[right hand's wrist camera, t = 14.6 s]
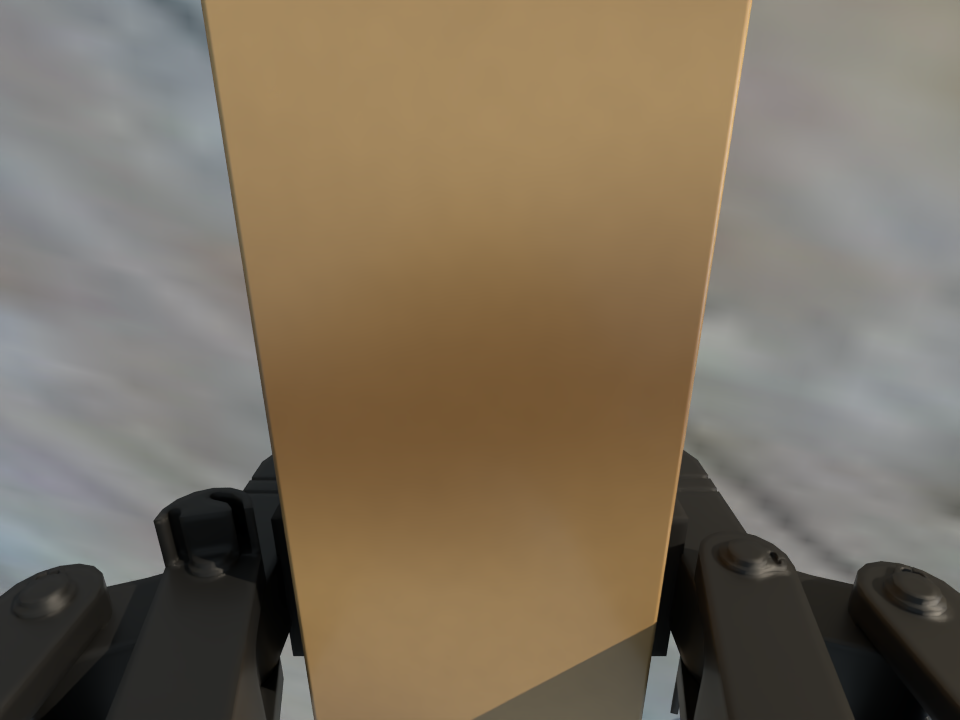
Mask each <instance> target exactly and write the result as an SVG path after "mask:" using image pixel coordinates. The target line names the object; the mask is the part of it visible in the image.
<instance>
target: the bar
mask: <svg viewBox="0 0 960 720" xmlns="http://www.w3.org/2000/svg"><path fill="white" fill-rule="evenodd" d="M201 5H202V11H203V17H204V24H205V30H206V36H207V43H208V49H209V55H210V62H211V68H212V74H213V81H214V87H215V93H216V100H217V106H218V112H219V119H220V125H221V131H222V138H223V144H224V150H225V157H226V163H227V169H228V176H229V182H230V188H231V195H232V201H233V208H234V214H235V220H236V227H237V233H238V239H239V246H240V252H241V258H242V265H243V271H244V277H245V284H246V290H247V296H248V303H249V309H250V315H251V322H252V328H253V334H254V341H255V347H256V353H257V360H258V366H259V372H260V379H261V385H262V391H263V398H264V404H265V410H266V417H267V423H268V429H269V436H270V442H271V449H272V455H273V461H274V468H275V474H276V480H277V487H278V493H279V499H280V506H281V512H282V518H283V525H284V531H285V537H286V544H287V550H288V556H289V563H290V569H291V575H292V582H293V588H294V594H295V601H296V607H297V613H298V620H299V626H300V632H301V639H302V645H303V651H304V658H305V664H306V670H307V677H308V683H309V690H310V696H311V702H312V709H313V715H314V720H642V714H643V707H644V701H645V694H646V688H647V681H648V675H649V668H650V662H651V655H652V649H653V642H654V636H655V629H656V623H657V616H658V610H659V603H660V597H661V590H662V584H663V577H664V571H665V564H666V558H667V551H668V545H669V538H670V532H671V525H672V519H673V512H674V506H675V499H676V493H677V486H678V480H679V473H680V467H681V460H682V454H683V447H684V441H685V434H686V428H687V421H688V415H689V408H690V402H691V395H692V389H693V382H694V376H695V369H696V363H697V356H698V350H699V343H700V336H701V330H702V323H703V317H704V310H705V304H706V297H707V291H708V284H709V278H710V271H711V265H712V258H713V252H714V245H715V239H716V232H717V226H718V219H719V213H720V206H721V200H722V193H723V187H724V180H725V174H726V167H727V161H728V154H729V148H730V141H731V135H732V128H733V122H734V115H735V109H736V102H737V96H738V89H739V83H740V76H741V70H742V63H743V57H744V50H745V44H746V37H747V31H748V24H749V18H750V11H751V5H752V0H201Z"/></svg>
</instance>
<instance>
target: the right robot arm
mask: <svg viewBox="0 0 960 720" xmlns="http://www.w3.org/2000/svg"><path fill="white" fill-rule="evenodd" d="M154 525H155V528H156V532H157V536H158V540H159V544H160V548H161V552H162V555H163V559H164V563H165V567H166V568H165V570H164V573H163V574H159V575H156V576H152V577H149V578H145V579H140V580H136V581H131V582H127V583H122V584H118V585H113V586H109V587H107V586H106V583H105V580H104V577H103V574H102V573H101V572H100V571H99V570H98V569H97V568H96V567H94V566H90V565H84V564H72V565H64V566H58V567H55V568H51V569H49V570H45V571H42V572H40V573H37V574H35V575H33V576H31V577H29V578H27V579H25V580H23V581H21V582H19V583H18V584H16V585H15V586H13V587H12V588H11V589H9V590H8V591H7V592H5V593H4V594H3V595H2V596H0V720H280V711H281V701H282V690H283V680H284V679H283V672H282V666H281V660H280V655H281V652H282V650H283V647H284V644H285V642H286V639H287V637H288V634H289V633H290V639H291V645H292V651H293V656H304V651H303V645H302V639H301V632H300V626H299V620H298V613H297V607H296V601H295V594H294V588H293V582H292V575H291V569H290V563H289V556H288V550H287V544H286V537H285V531H284V525H283V518H282V512H281V506H280V499H279V493H278V487H277V480H276V474H275V468H274V461H273V455H271V456H270V457H268V458H267V459H266V460H264V461H263V462H262V463H261V465H260V466H259V468H258V469H257V471H256V472H255V474H254V475H253V477H252V480H250V481H249V483H248V484H247V486H246V487H245V489H244V490H243V491H242V490H238V489H234V488H211V489H206V490H202V491H197V492H194V493H191V494H189V495H187V496H184V497H182V498H179V499H177V500H176V501H174V502H173V503H171V504H170V505H168V506H167V507H165V508H164V509H162V511H161V512H160V513H159V514H158V516H157V517H156V518H155V520H154ZM670 631H671V632H672V635H673V637H674V640H675V642H676V645H677V648H678V650H679V653H680V660H679V666H678V671H677V677H676V682H675V688H674V694H673V699H672V706H671V712H670V713H673V714H678V710H680V720H960V593H958V592H957V591H956V590H954V589H953V588H952V587H951V586H949V585H948V584H947V583H945V582H944V581H942V580H940V579H938V578H936V577H934V576H932V575H930V574H928V573H926V572H924V571H922V570H919V569H917V568H914V567H910V566H907V565H904V564H900V563H892V562H883V561H880V562H874V563H868V564H865V565H864V566H863V567H862V568H861V569H859V570H858V572H857V575H856V578H855V582H854V585H853V584H849V583H844V582H839V581H835V580H830V579H826V578H821V577H817V576H812V575H809V574H805V573H802V572H798V571H796V569H795V567H794V565H793V564H792V562H791V561H790V559H789V558H788V556H787V555H786V554H785V553H784V552H782V551H781V550H780V549H779V548H777V547H776V546H775V545H773V544H772V543H770V542H768V541H766V540H764V539H761V538H759V537H757V536H755V535H751V534H747V533H746V531H745V530H744V528H743V527H742V525H741V524H740V522H739V521H738V519H737V518H736V516H735V515H734V513H733V512H732V510H731V509H730V507H729V506H728V504H727V503H726V501H725V500H724V499H723V497H722V496H721V494H720V493H719V492H717V488H716V487H715V485H714V484H713V482H712V481H711V479H708V475H707V473H706V472H705V470H704V469H703V467H702V466H701V464H700V463H699V461H698V460H697V459H695V458H694V457H693V456H691V455H690V454H688V453H687V452H686V451H684V450H683V454H682V460H681V467H680V473H679V480H678V486H677V493H676V499H675V506H674V512H673V519H672V525H671V532H670V538H669V545H668V551H667V558H666V564H665V571H664V577H663V584H662V590H661V597H660V603H659V610H658V616H657V623H656V629H655V636H654V642H653V649H652V655H651V656H666V655H667V649H668V643H669V637H670Z"/></svg>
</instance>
